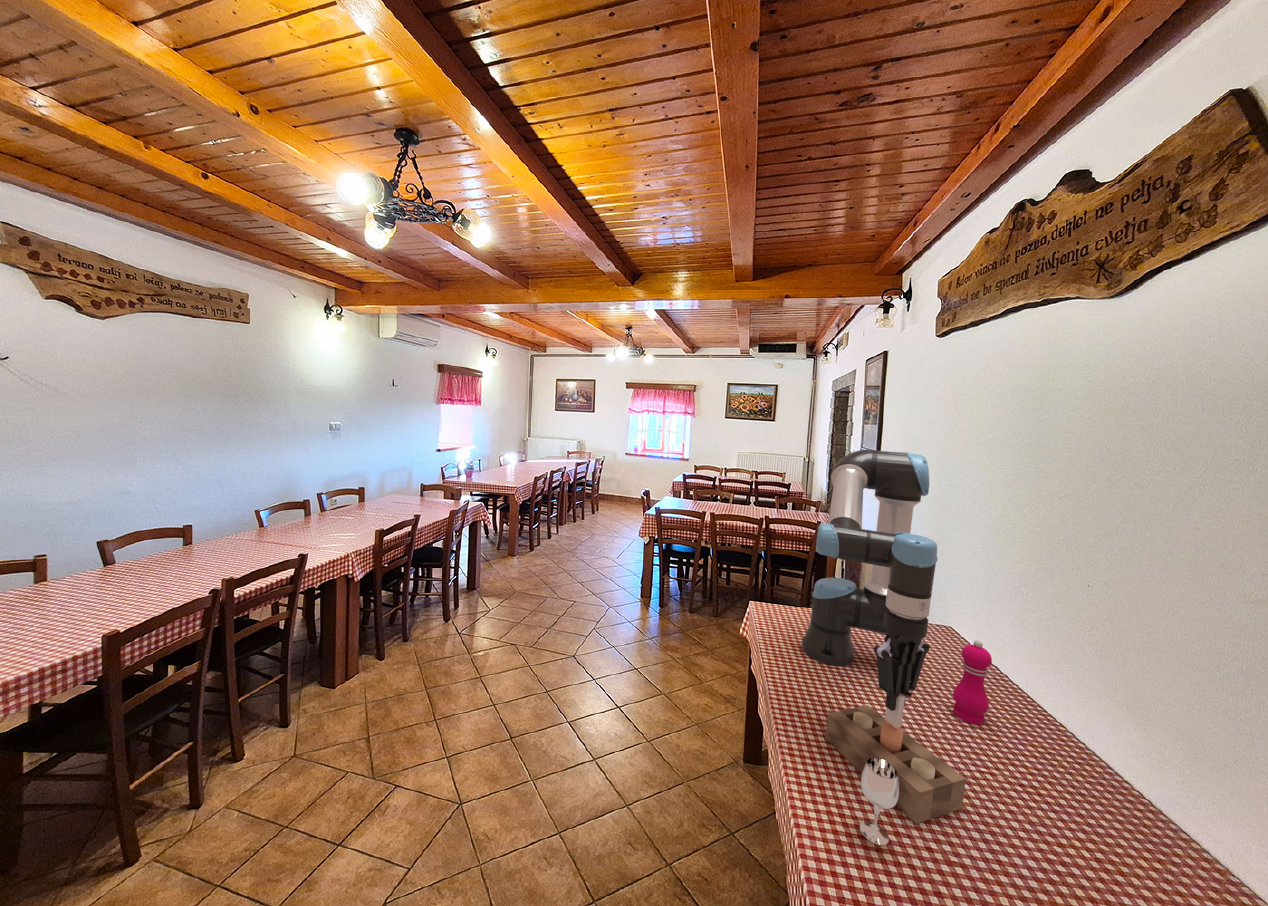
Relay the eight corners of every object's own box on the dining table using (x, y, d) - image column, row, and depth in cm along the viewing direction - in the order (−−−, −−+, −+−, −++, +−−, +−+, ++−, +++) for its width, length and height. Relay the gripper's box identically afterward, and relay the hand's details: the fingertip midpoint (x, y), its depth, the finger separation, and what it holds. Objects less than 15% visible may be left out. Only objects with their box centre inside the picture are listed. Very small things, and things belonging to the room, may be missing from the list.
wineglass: (848, 818, 80) (856, 755, 79) (879, 818, 80) (886, 755, 79) (868, 849, 74) (876, 781, 73) (900, 849, 74) (909, 781, 74)
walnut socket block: (824, 738, 100) (827, 713, 100) (865, 729, 104) (868, 705, 104) (916, 824, 79) (920, 792, 79) (961, 808, 84) (965, 778, 83)
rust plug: (874, 750, 93) (877, 723, 92) (887, 747, 94) (891, 720, 94) (890, 764, 89) (893, 736, 89) (904, 760, 90) (907, 732, 90)
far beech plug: (846, 738, 99) (849, 713, 99) (859, 735, 101) (862, 710, 100) (860, 751, 96) (863, 724, 95) (873, 747, 97) (876, 721, 97)
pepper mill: (993, 729, 108) (1004, 650, 106) (959, 723, 109) (970, 645, 108) (976, 710, 115) (986, 636, 113) (945, 705, 116) (955, 631, 115)
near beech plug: (903, 788, 86) (907, 759, 86) (917, 784, 88) (921, 756, 87) (921, 805, 83) (925, 774, 82) (936, 800, 84) (940, 770, 84)
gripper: (899, 624, 84) (885, 741, 86) (947, 617, 88) (932, 729, 90) (866, 607, 91) (853, 716, 93) (912, 602, 95) (899, 706, 97)
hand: (892, 722), depth 91 cm, fingers closed
